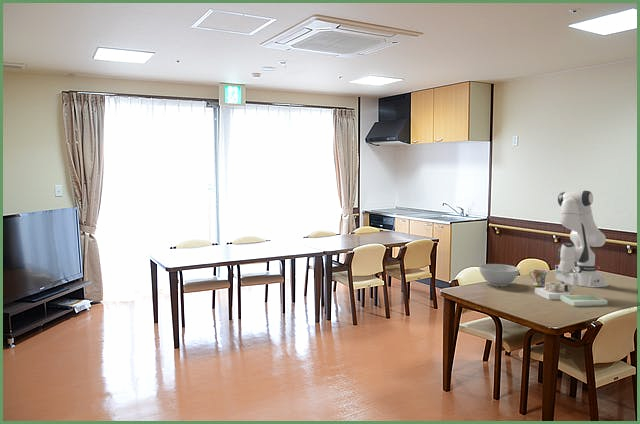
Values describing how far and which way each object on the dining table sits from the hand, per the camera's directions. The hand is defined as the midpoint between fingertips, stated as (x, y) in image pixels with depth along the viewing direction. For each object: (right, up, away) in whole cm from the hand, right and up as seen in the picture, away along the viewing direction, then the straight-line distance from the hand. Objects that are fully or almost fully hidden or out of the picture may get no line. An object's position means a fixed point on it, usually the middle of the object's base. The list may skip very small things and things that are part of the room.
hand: (565, 289), depth 333 cm
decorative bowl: (-34, -1, +29) cm, 44 cm away
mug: (-7, -2, +27) cm, 28 cm away
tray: (+3, -6, -16) cm, 17 cm away
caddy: (-6, -4, 0) cm, 7 cm away
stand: (-9, -4, -1) cm, 10 cm away
